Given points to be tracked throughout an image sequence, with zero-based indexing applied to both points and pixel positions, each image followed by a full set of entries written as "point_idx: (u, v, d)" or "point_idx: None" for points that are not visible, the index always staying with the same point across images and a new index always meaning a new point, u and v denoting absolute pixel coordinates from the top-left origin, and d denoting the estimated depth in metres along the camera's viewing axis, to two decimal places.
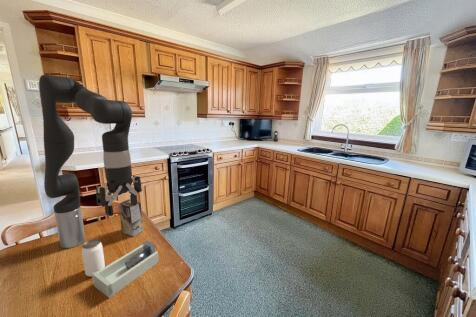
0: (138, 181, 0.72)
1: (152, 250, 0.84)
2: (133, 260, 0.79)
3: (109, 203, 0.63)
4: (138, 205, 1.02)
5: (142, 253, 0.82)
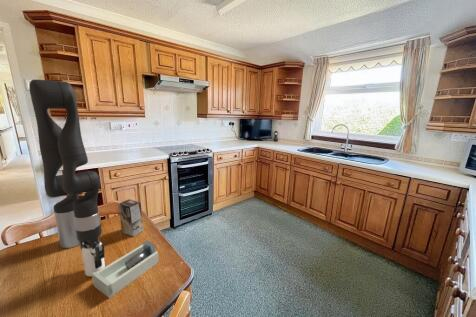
0: None
1: (152, 250, 0.84)
2: (133, 260, 0.79)
3: None
4: (138, 205, 1.02)
5: (142, 253, 0.82)
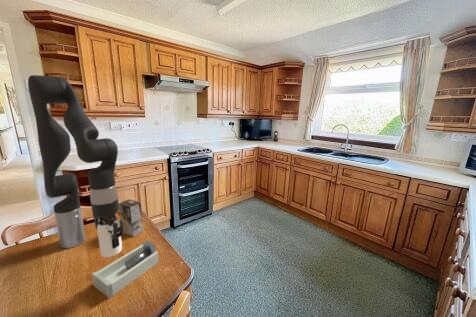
0: None
1: (152, 250, 0.84)
2: (133, 260, 0.79)
3: None
4: (138, 205, 1.02)
5: (142, 253, 0.82)
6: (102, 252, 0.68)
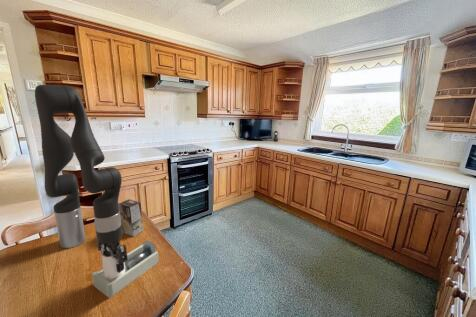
0: None
1: (152, 250, 0.84)
2: (133, 260, 0.79)
3: None
4: (138, 205, 1.02)
5: (142, 253, 0.82)
6: None
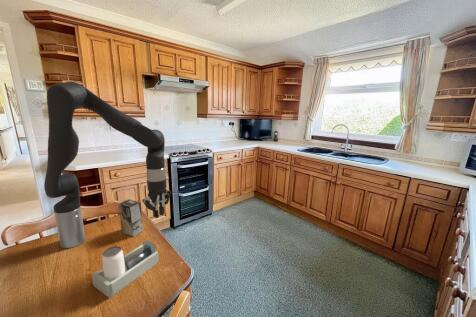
0: None
1: (152, 250, 0.84)
2: (133, 260, 0.79)
3: None
4: (138, 205, 1.02)
5: (142, 253, 0.82)
6: None
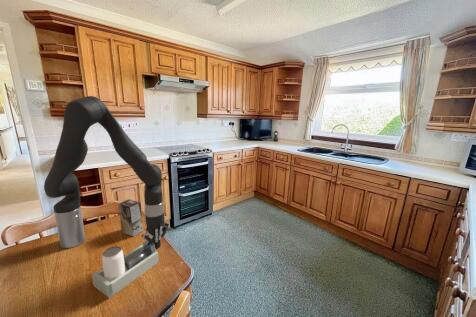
0: None
1: (152, 250, 0.84)
2: (133, 260, 0.79)
3: None
4: (138, 205, 1.02)
5: (142, 253, 0.82)
6: None
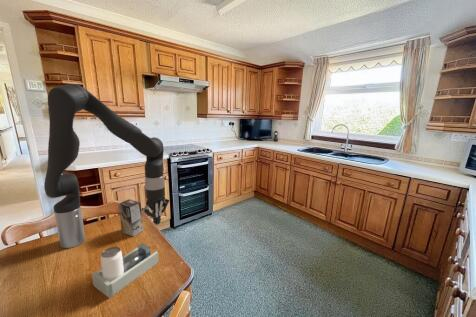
0: None
1: (147, 253, 0.82)
2: (127, 263, 0.77)
3: None
4: (138, 205, 1.02)
5: (137, 256, 0.80)
6: None
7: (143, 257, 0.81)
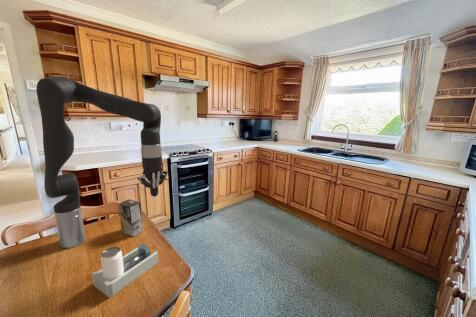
0: None
1: (147, 253, 0.82)
2: (127, 263, 0.77)
3: None
4: (138, 205, 1.02)
5: (137, 256, 0.80)
6: None
7: (143, 257, 0.81)
